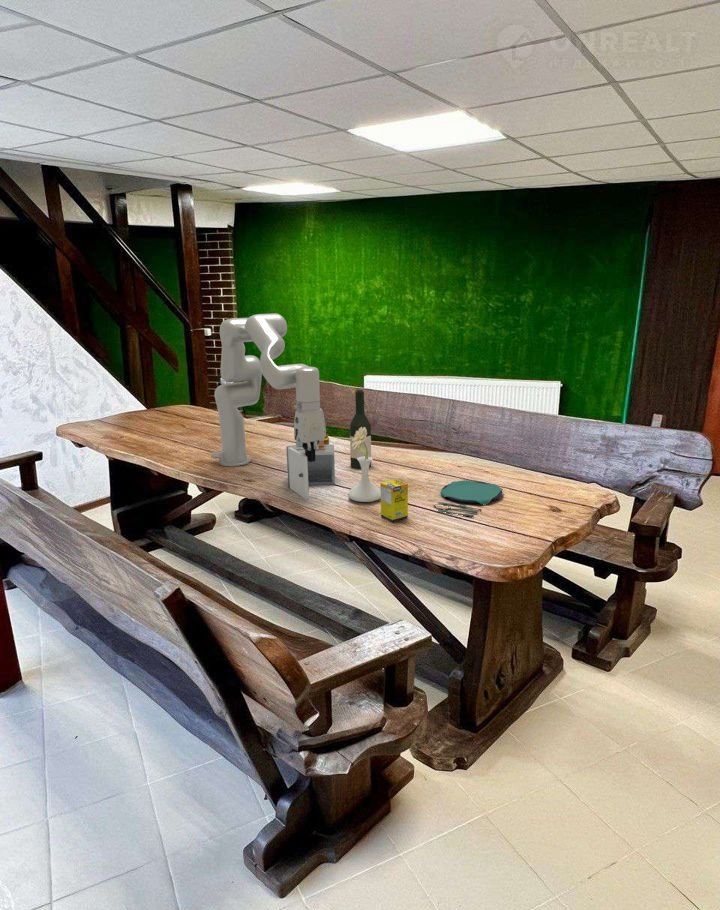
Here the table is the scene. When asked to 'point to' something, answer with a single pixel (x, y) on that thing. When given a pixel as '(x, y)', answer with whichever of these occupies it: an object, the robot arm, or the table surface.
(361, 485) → the flower in vase
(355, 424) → the wine bottle
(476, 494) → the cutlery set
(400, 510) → the supplement box
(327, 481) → the white slider console
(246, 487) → the table surface
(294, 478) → the door
